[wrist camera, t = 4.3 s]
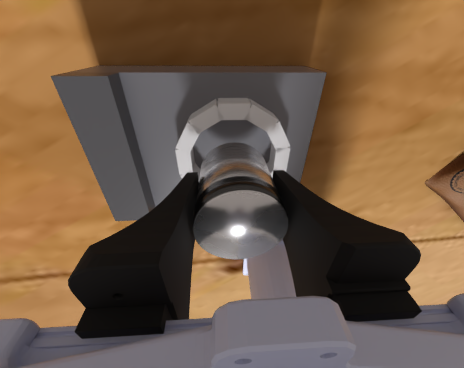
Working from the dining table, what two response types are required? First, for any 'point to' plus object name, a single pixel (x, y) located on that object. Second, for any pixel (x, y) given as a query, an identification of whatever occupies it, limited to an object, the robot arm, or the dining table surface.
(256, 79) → the camera body
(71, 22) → the dining table surface
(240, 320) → the robot arm
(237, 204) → the lens
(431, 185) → the sunglasses case
